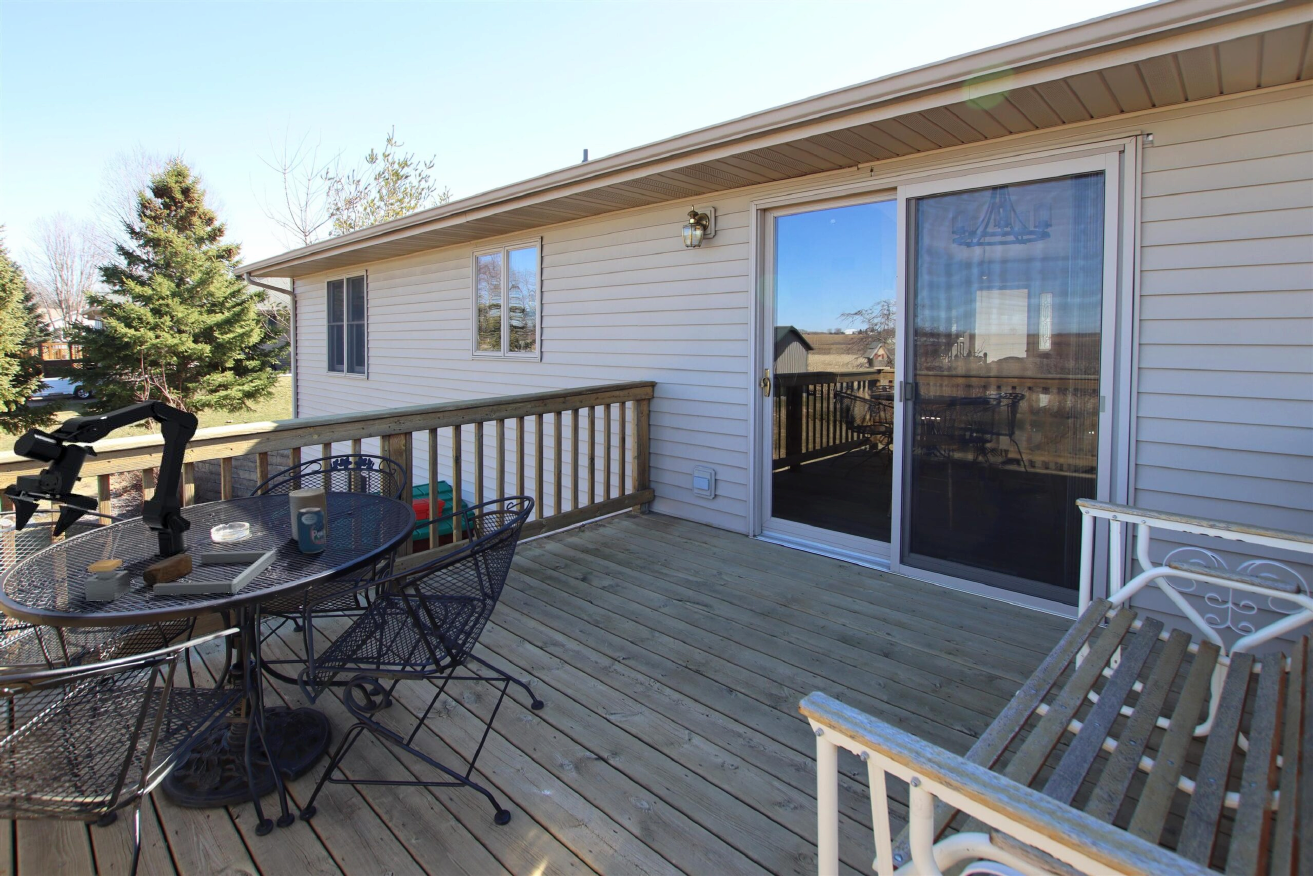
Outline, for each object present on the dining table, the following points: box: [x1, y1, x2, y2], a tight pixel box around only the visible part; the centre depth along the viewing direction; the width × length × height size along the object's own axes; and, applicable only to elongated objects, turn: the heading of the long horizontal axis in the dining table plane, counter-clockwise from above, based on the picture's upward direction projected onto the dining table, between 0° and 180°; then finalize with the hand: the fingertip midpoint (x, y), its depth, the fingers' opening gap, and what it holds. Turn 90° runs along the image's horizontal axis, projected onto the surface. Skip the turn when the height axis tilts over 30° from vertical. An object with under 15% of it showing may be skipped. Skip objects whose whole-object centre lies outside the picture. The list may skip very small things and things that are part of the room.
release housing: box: [83, 570, 132, 602], centre depth 161 cm, size 6×6×5 cm
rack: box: [152, 550, 277, 596], centre depth 175 cm, size 24×18×2 cm
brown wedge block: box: [142, 553, 193, 586], centre depth 173 cm, size 11×4×5 cm, turn 170°
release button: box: [88, 558, 123, 579], centre depth 161 cm, size 4×4×5 cm
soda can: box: [297, 506, 327, 554], centre depth 195 cm, size 7×7×12 cm
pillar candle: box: [288, 487, 329, 541], centre depth 206 cm, size 10×10×15 cm
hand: (36, 533), depth 159 cm, fingers open, 9 cm apart
